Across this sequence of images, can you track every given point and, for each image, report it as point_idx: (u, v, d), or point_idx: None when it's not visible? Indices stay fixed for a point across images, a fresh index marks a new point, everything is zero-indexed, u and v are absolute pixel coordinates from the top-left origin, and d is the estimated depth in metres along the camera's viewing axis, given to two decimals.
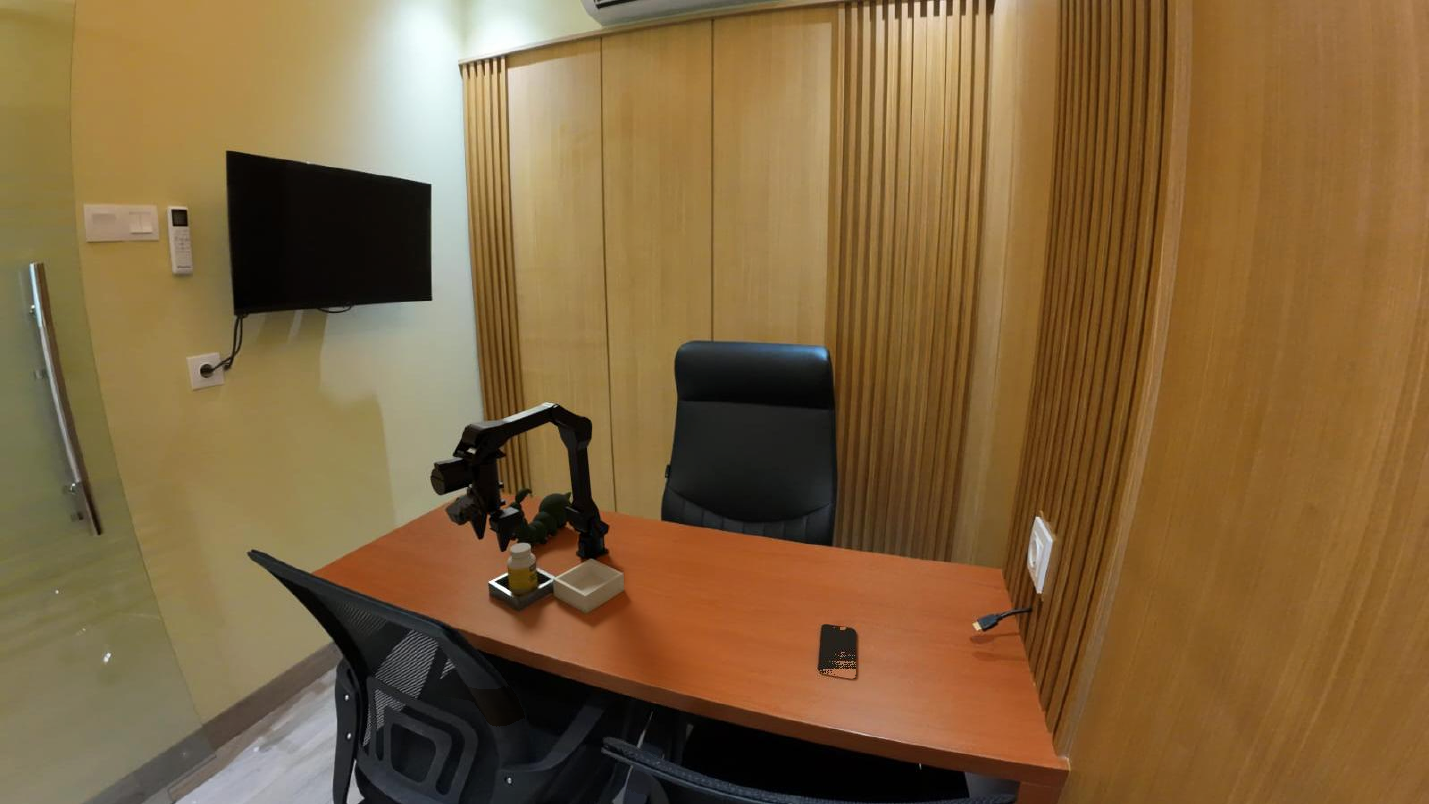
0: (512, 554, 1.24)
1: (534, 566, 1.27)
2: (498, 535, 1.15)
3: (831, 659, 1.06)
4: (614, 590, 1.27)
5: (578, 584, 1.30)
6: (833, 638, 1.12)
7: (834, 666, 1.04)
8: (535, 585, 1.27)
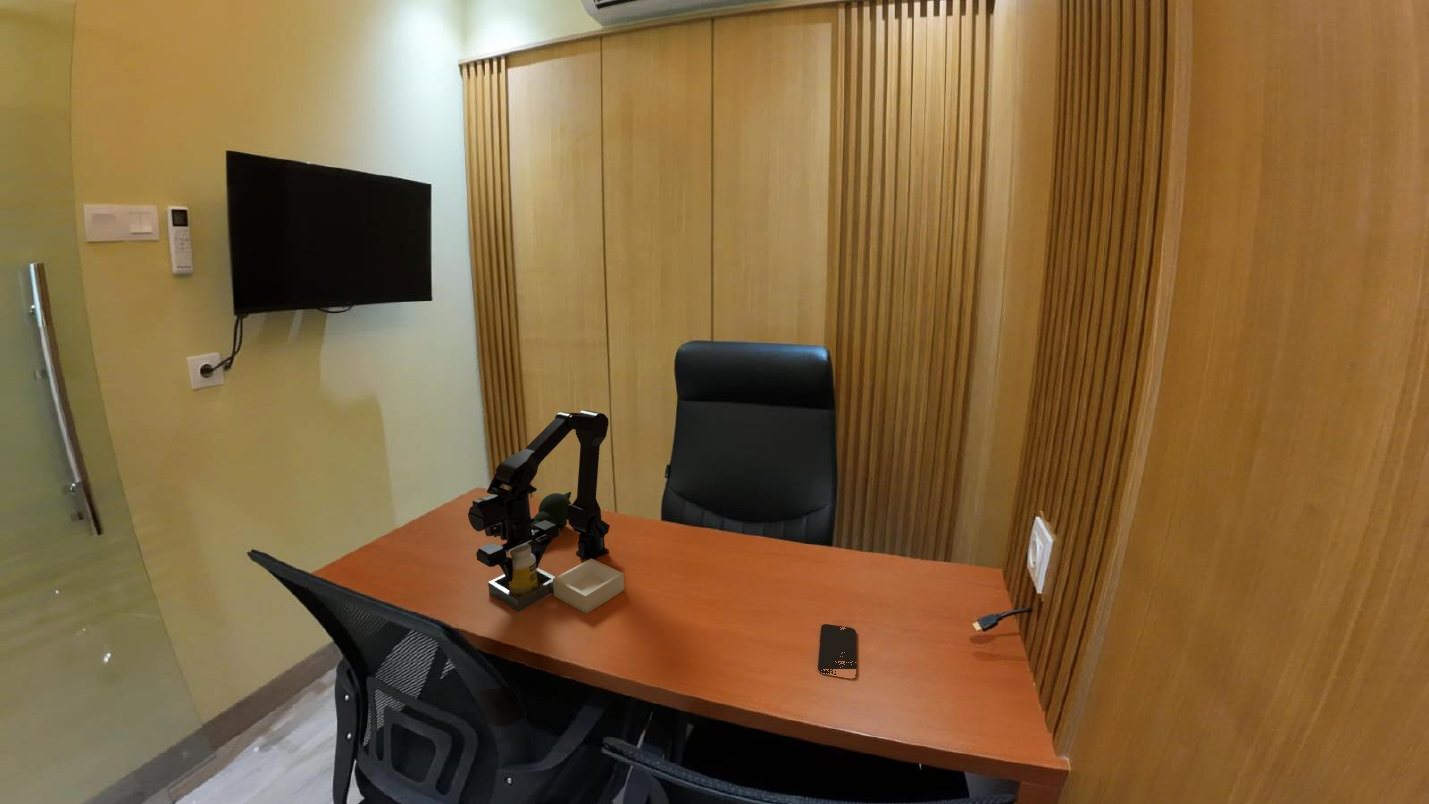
0: (512, 554, 1.24)
1: (534, 566, 1.27)
2: None
3: (831, 659, 1.06)
4: (614, 590, 1.27)
5: (578, 584, 1.30)
6: (833, 638, 1.12)
7: (834, 666, 1.04)
8: (535, 585, 1.27)
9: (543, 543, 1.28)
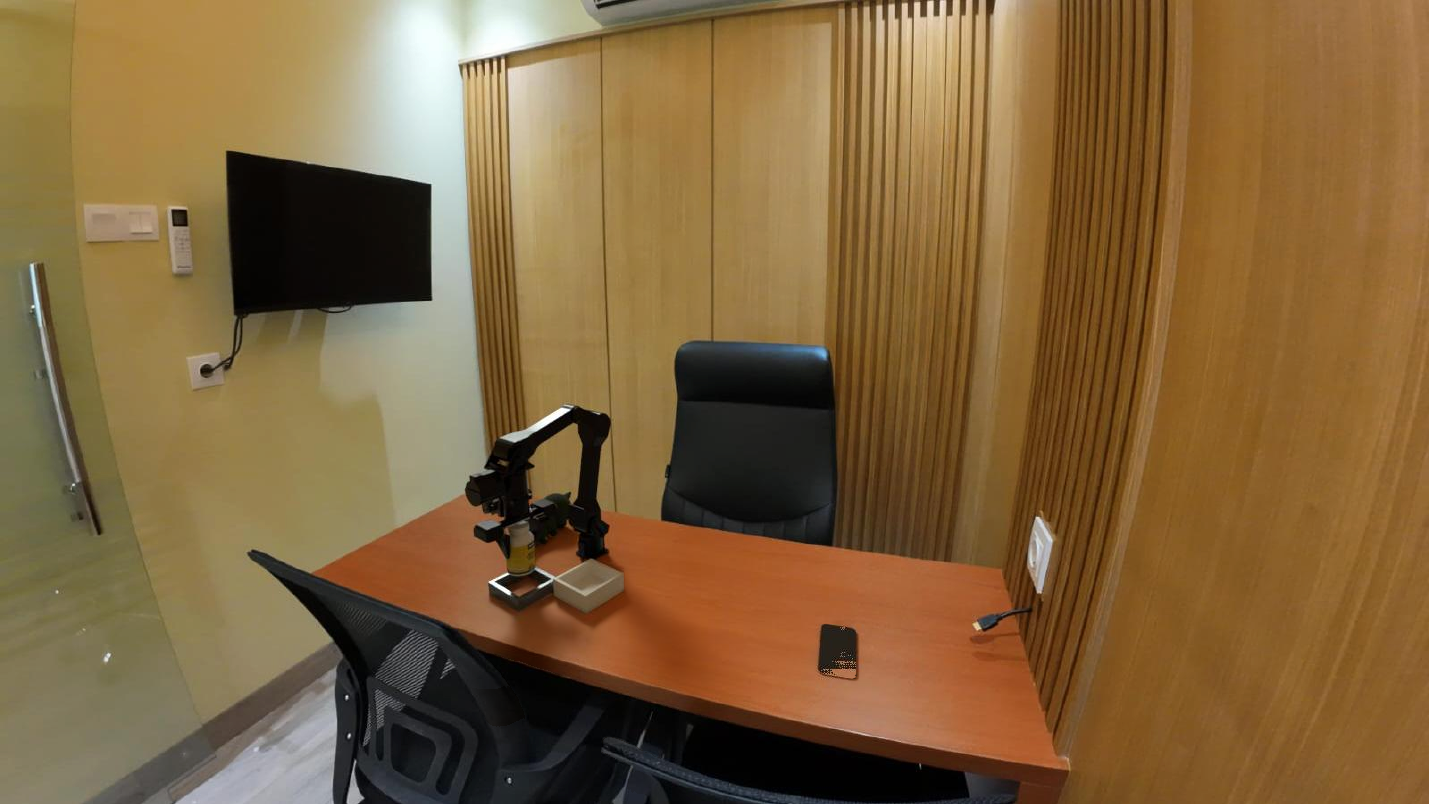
0: (510, 531, 1.23)
1: (532, 544, 1.25)
2: None
3: (831, 659, 1.06)
4: (614, 590, 1.27)
5: (578, 584, 1.30)
6: (833, 638, 1.12)
7: (834, 666, 1.04)
8: (533, 564, 1.26)
9: (541, 521, 1.27)
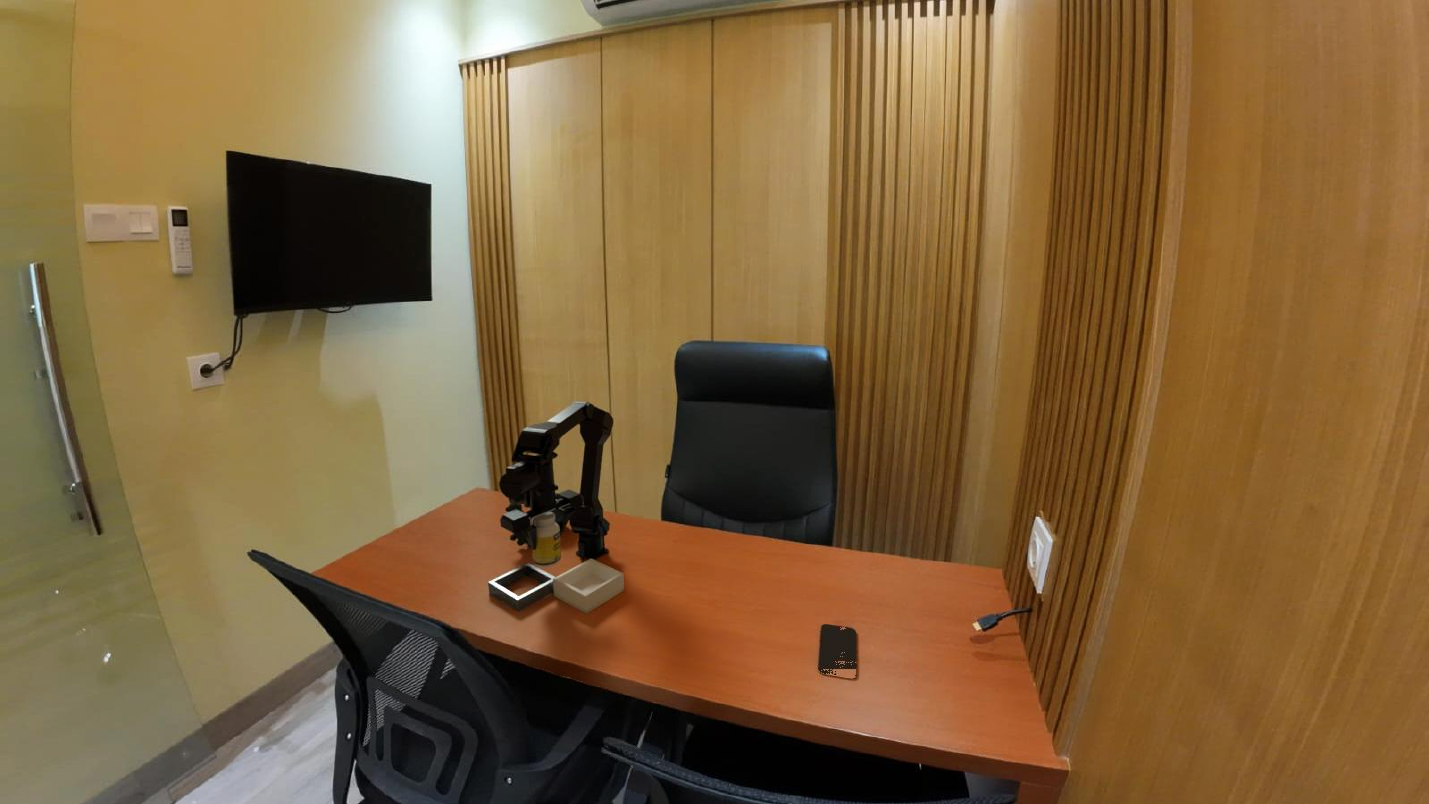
0: (536, 522, 1.22)
1: (558, 535, 1.24)
2: None
3: (831, 659, 1.06)
4: (614, 590, 1.27)
5: (578, 584, 1.30)
6: (833, 638, 1.12)
7: (834, 666, 1.04)
8: (558, 555, 1.25)
9: (567, 512, 1.26)
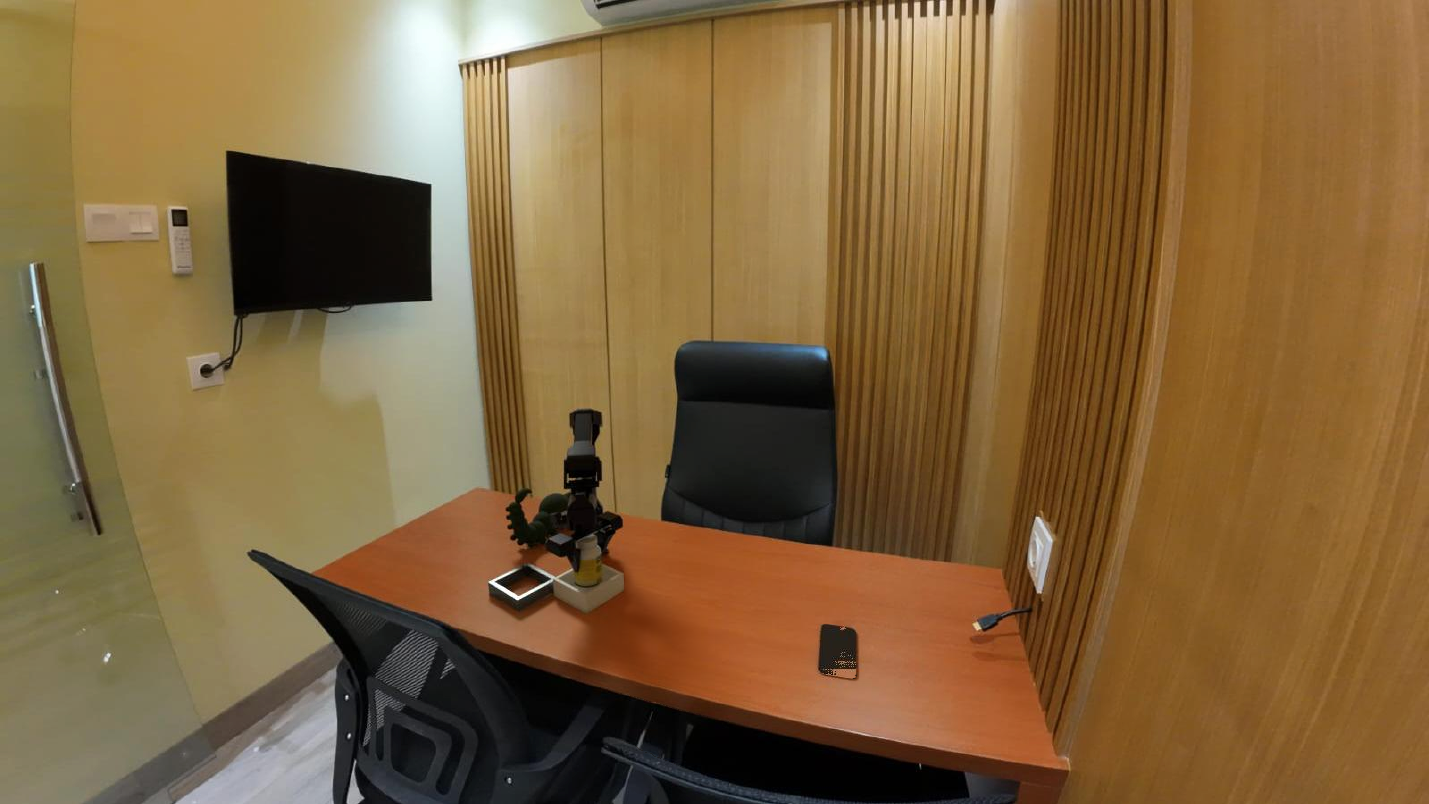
0: (580, 544, 1.23)
1: (600, 557, 1.26)
2: None
3: (831, 659, 1.06)
4: (614, 590, 1.27)
5: None
6: (833, 638, 1.12)
7: (834, 666, 1.04)
8: (600, 577, 1.26)
9: (608, 534, 1.27)
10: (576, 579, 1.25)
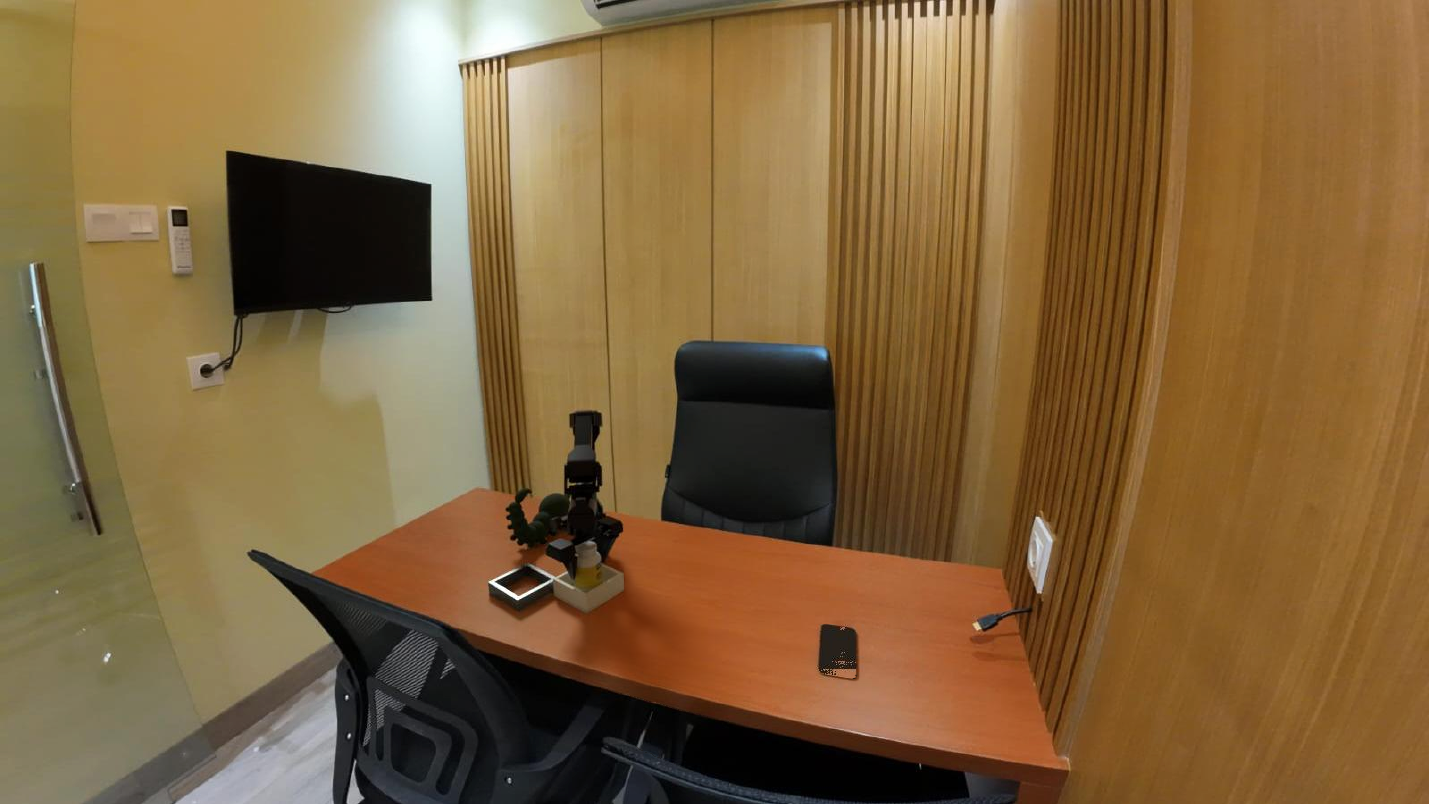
0: (579, 552, 1.23)
1: (600, 564, 1.26)
2: None
3: (831, 659, 1.06)
4: (614, 590, 1.27)
5: None
6: (833, 638, 1.12)
7: (834, 666, 1.04)
8: (601, 583, 1.27)
9: (611, 537, 1.28)
10: (577, 586, 1.25)
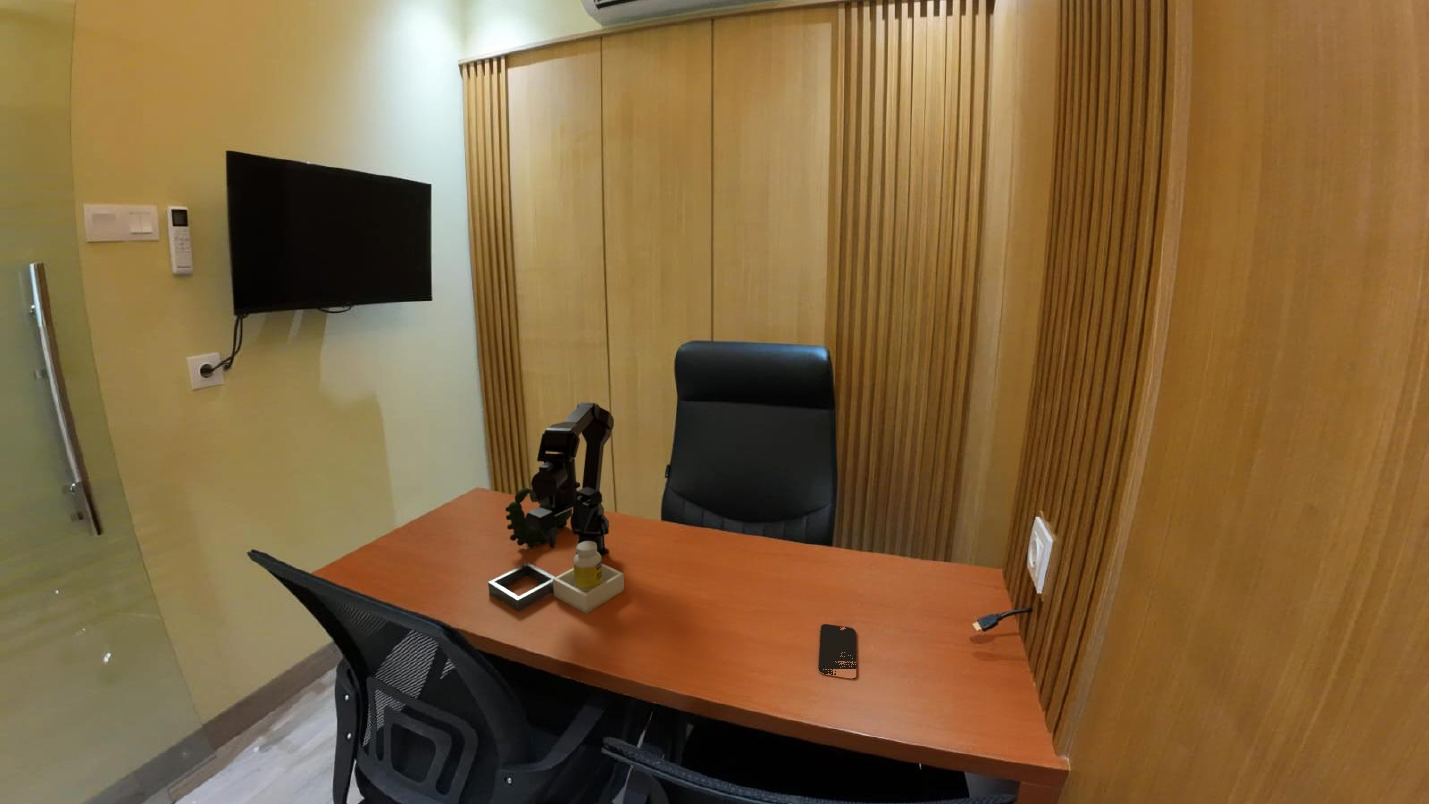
0: (579, 552, 1.23)
1: (600, 564, 1.26)
2: None
3: (831, 659, 1.06)
4: (614, 590, 1.27)
5: None
6: (833, 638, 1.12)
7: (834, 666, 1.04)
8: (601, 583, 1.27)
9: (591, 506, 1.30)
10: (577, 586, 1.25)
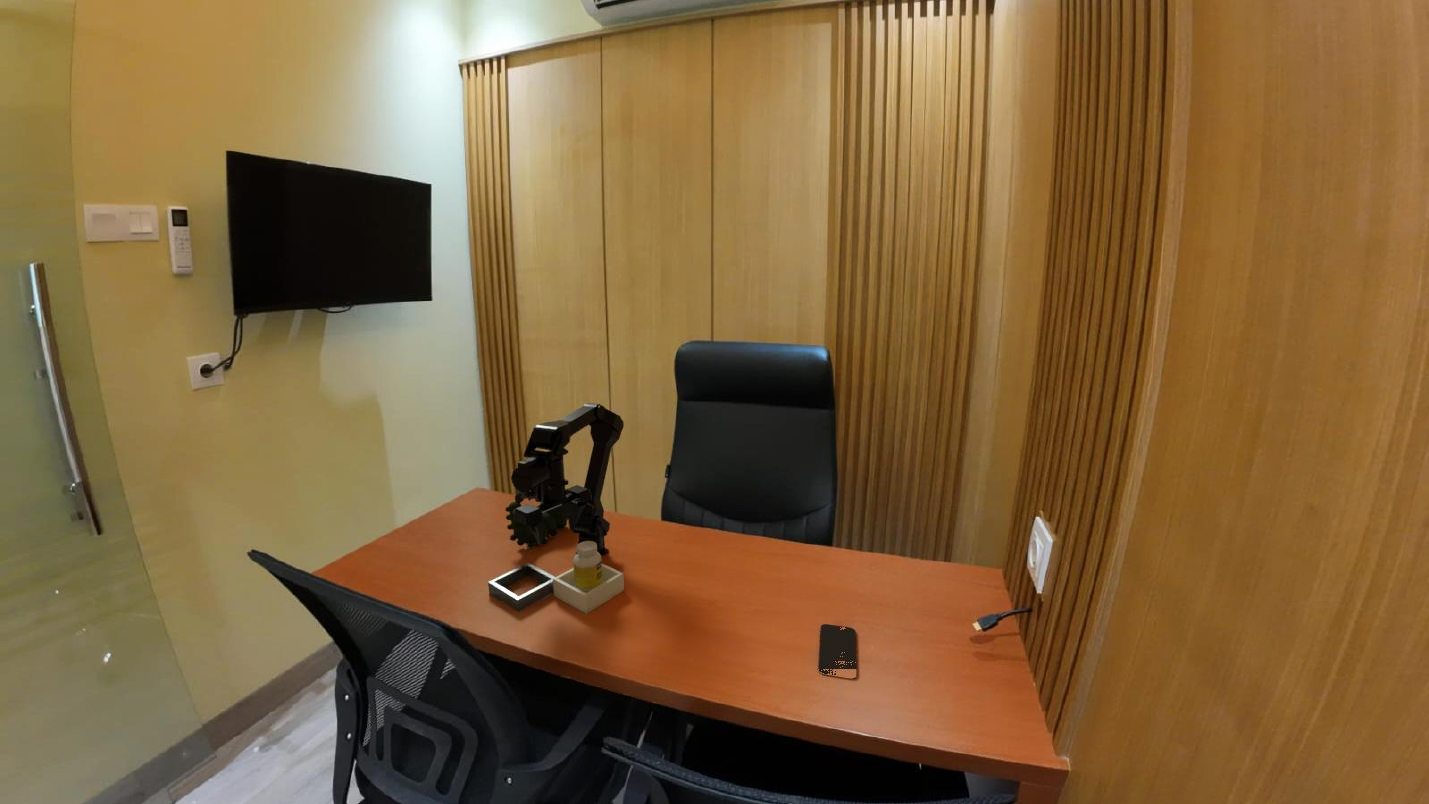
0: (579, 552, 1.23)
1: (600, 564, 1.26)
2: None
3: (831, 659, 1.06)
4: (614, 590, 1.27)
5: None
6: (833, 638, 1.12)
7: (834, 666, 1.04)
8: (601, 583, 1.27)
9: (580, 504, 1.32)
10: (577, 586, 1.25)
